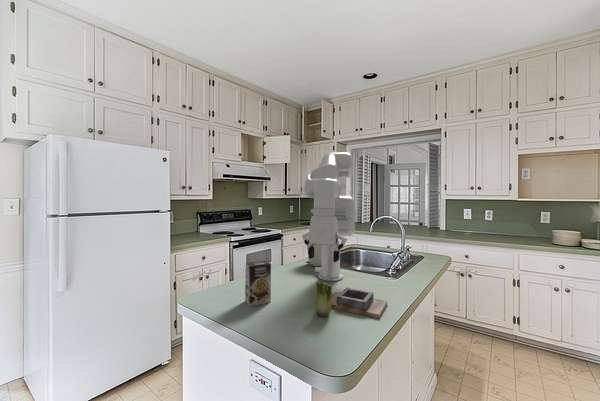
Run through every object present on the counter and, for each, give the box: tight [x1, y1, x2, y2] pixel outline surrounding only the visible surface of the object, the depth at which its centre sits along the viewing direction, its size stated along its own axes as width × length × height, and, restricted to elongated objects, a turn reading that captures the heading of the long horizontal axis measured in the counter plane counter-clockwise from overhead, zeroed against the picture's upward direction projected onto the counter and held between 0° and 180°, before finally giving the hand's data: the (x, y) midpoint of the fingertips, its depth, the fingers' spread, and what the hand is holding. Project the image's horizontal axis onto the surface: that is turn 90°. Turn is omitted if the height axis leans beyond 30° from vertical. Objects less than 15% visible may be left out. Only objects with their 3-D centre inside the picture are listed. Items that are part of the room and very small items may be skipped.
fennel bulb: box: [314, 282, 332, 317], centre depth 106 cm, size 6×5×12 cm
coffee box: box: [244, 260, 272, 307], centre depth 117 cm, size 9×6×16 cm
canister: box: [306, 236, 322, 268], centre depth 174 cm, size 18×18×21 cm
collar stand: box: [331, 287, 388, 320], centre depth 115 cm, size 22×14×4 cm, turn 62°
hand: (323, 259), depth 105 cm, fingers open, 9 cm apart
